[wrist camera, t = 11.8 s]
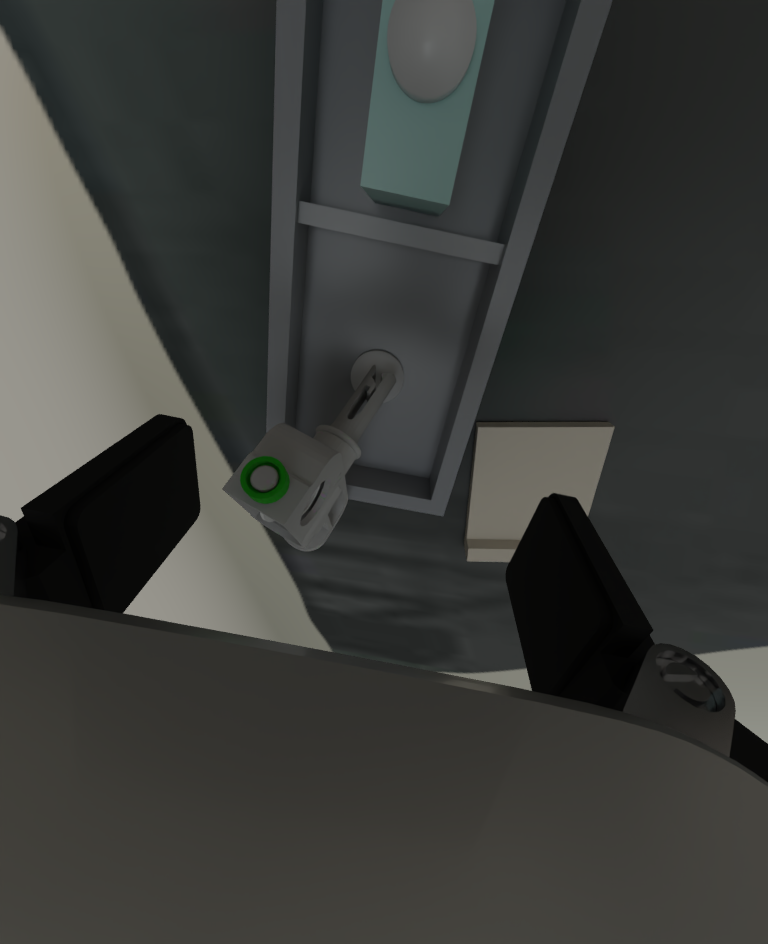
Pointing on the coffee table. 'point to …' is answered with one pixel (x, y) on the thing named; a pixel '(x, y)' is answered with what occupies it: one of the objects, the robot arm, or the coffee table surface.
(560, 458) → the lid plate
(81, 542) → the robot arm
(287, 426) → the mechanical component
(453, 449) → the housing
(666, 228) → the coffee table surface
